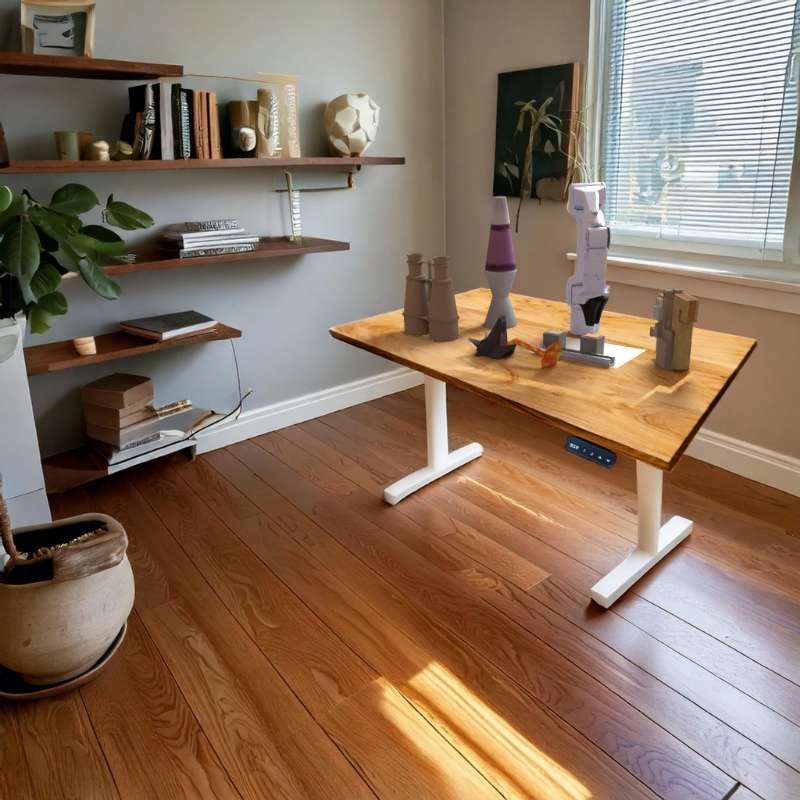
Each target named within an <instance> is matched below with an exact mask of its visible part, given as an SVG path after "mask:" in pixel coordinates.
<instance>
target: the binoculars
mask: <svg viewBox="0 0 800 800" xmlns="http://www.w3.org/2000/svg"><path fill="white" fill-rule="evenodd" d="M423 256H424V252H408V253H406V257H407V260H406V262H405V263H406V264H407V265H408V275H406V276H405V281H406V282H405V290H404V291H405V294H404V305H403V312H401V313H402V315H401V316H402V317H403V325H404V334H405V335H406V334H407V335H406V336H409V335H411V336H410V337H424V336H423V335H425V336H428V339H429V340H430V341H432V340H433V342H437V341H438V342H437V343H444V342H445V343H447V341H448V342H452V341H456V340H458V339H460V338H459V337H460V334H459V320H460V316H459V314H458V309H457V304H456V302H457V301H456V296H455V295H456V294H455V291H454V285H453V283H454V280H453V278H452V277H450V266H451V265H452V264H451V263H452V262H450V258H451V255H447V254H445V255H444V254H439V255H434V256H432V260H431V259H428V260H425V259H423V258H424V257H423ZM423 264H427V268H428V269H427V271H428V276H427V275H426V274H425V273H424V265H423ZM432 267H433V270H434V271H433V272H434V273H433V274H434V275H433V276H434V277H433V276H432ZM428 334H429V335H428Z"/></svg>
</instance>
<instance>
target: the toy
mask: <svg viewBox="0 0 800 800" xmlns="http://www.w3.org/2000/svg"><path fill="white" fill-rule="evenodd" d="M683 291H684V290H683V289H682V288H672V289H671V288H666V289H663V291H662V292H663V293H658V295H657V297H656V296H655V305H653V311H652V318H653V319H655V320H657V322H656V323H654V326H650V327H649V337H652V338H656V339H655V350H654V352H655V353H656V354H655V358H650V360H651V361H652V362H653V363H654V364H656V365H657V366H658V367H659V368H661V369H662V370H663V371H664V370H665V371H666V370H667V371H668V370H688V369H690V363H691V362H690V361H691V353H692V343H693V341H692V340H693V331H694V330H693V329H694V323H698V315H699V307H700V300H699V299H698V298H696V297H694V296H693V295H690V294H689V293H687V292H686V293H684V292H683Z"/></svg>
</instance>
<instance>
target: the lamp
mask: <svg viewBox="0 0 800 800" xmlns="http://www.w3.org/2000/svg"><path fill="white" fill-rule="evenodd" d="M493 200H494V201H493V204H492V205H493V207H492V213H491V219H490V230H489V237H488V244H487V250H486V258H485V266H484V270H483V273H484V275H485V278H486V281H487V284H488V287H489V290H490V292H491V293H490V294H491V296H492V297H491V300H490V304H489V306H488V310H487V313H486V317H485V319H484V322H483V325H484V327H487V328H490V329H492V328H493V327H494V325H495V323H496V322H497V320H498V318H499V317H501V316H504V315H505V316H506V326H507V329H510V328H509V327H511V328H513V326H514V327H516V326H517V325H518V321H517V318H516V314H515V312H514V308H513V305H512V303H511V300H510V296H509V295H510V293H511V289H512V286H513V282H514V280H515V278H516V275H517V271H518V270H517V265H516V258H515V252H514V251H515V250H514V246H513V237H512V230H511V220H510V215H509V214H510V213H509V207H508V201H507V197H506V196H495V197H494V199H493ZM515 325H516V326H515Z"/></svg>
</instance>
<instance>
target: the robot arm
mask: <svg viewBox="0 0 800 800" xmlns="http://www.w3.org/2000/svg"><path fill="white" fill-rule="evenodd" d="M606 198H607V186H606V183H605V182H604V181H600V182H581V183H576V182H575V183H574V182H572V183H570V184H569V186H568V213H569V214H570V215H572V216H574V217H575V221H576V268H575V269H576V273H574V274H573V275H572V276H570V277H569V278H568V279H567V281H566V287H565V303H566V305H567V306H570V314H569V315H570V317H569V319H570V321H569V333H570V334H572V335H574V336H575V335H576V336H583V335H585V334H587V333H591V334H595V332H597V331H598V330H600V327H601V326H600V325H601V317H602V315H603V311H604V309H605V306H606V304H607V303H608V302H609V295H610V292H611V285H606V283H607V269H608V268H607V267H608V266H607V265H608V250H610V247H611V242H612V240H611V239H612V234H611V233H612V232H611V227H610V226H609V225H608V224H607V223H606V218H605V214H604V213H603V211H602V210H603V208H604V205H605V202H606Z"/></svg>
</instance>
